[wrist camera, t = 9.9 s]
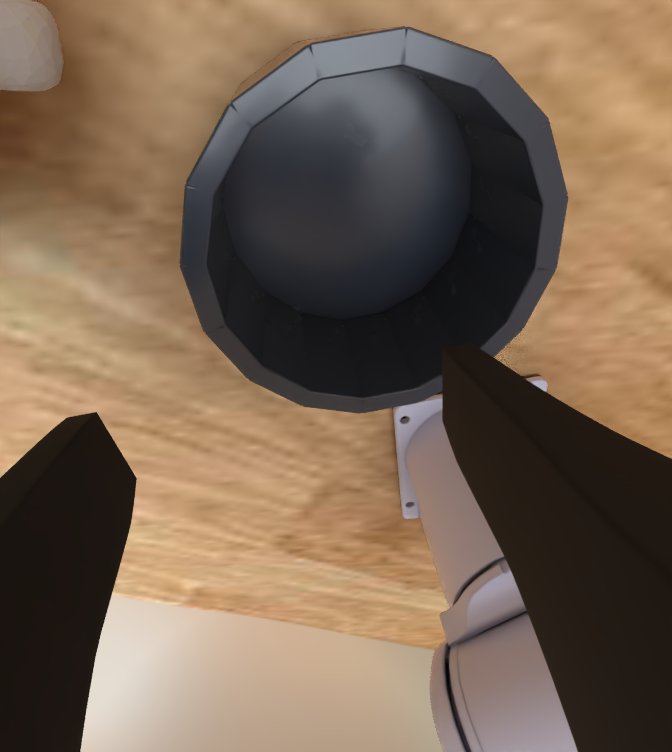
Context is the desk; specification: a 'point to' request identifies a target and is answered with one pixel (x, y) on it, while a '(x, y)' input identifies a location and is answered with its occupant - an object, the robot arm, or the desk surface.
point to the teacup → (28, 47)
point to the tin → (371, 217)
